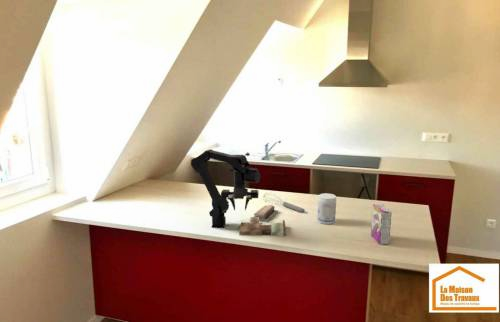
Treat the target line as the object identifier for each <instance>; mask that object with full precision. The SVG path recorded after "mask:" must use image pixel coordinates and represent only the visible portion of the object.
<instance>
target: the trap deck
mask: <svg viewBox="0 0 500 322" xmlns="http://www.w3.org/2000/svg"><path fill="white" fill-rule="evenodd" d="M286 228H287V227H286V221H285V219H282V222H271V223H270V224H263V222H259V229H250V222H247V221H244V222H243V221H242V222H240V226H239V231H238V233H239V236H271V237H273V236H274V237H275V236H276V237H281V236H282V237H286V235H287V234H286Z"/></svg>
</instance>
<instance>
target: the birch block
mask: <svg viewBox="0 0 500 322" xmlns="http://www.w3.org/2000/svg"><path fill="white" fill-rule="evenodd" d="M249 221H250V229H259V223H260V221H259V217H254V216H250V220H249Z"/></svg>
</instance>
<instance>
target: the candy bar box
mask: <svg viewBox="0 0 500 322" xmlns="http://www.w3.org/2000/svg"><path fill="white" fill-rule="evenodd" d="M371 209H372V212H371V227H370V236H371V237H372V238H373V239H374V240H375V241H376V242H377V244H378V245H381V246H384V245H390V241H391V238H390V237H391V228H392V227H391V224H392V210H390V209H389V208H388V207H386V206H385V205H383V204H382V203H374V204H372V207H371Z"/></svg>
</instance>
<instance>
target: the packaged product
mask: <svg viewBox="0 0 500 322" xmlns="http://www.w3.org/2000/svg"><path fill="white" fill-rule="evenodd" d="M275 208H276V207H275V206H274V204H268V205H263V206H262V207H261V208H260V209H258V210H256V212H254V213H253V215H254V216H253V217H259V223H265V224H266V223H268V222H269V221H271V220H272V219H273V218H274V217H276V215H277V214H279V210H278V209H275Z"/></svg>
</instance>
